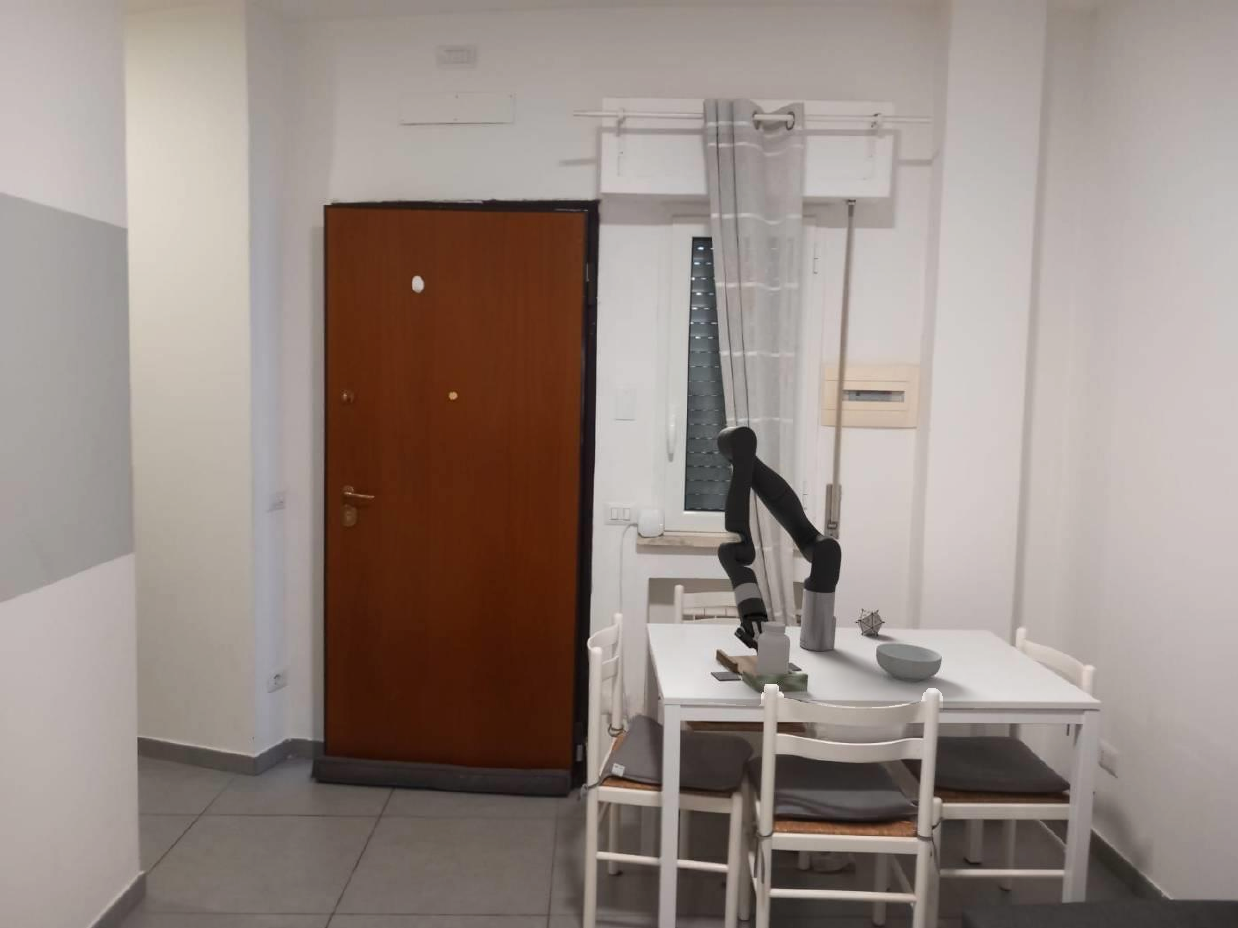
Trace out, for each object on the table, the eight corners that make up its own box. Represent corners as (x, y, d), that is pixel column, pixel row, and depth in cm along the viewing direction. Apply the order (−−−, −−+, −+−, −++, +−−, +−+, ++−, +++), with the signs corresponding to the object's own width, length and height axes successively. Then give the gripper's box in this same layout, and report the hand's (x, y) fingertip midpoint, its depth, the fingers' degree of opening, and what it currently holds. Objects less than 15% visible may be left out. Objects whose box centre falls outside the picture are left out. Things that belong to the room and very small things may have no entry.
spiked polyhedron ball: (871, 644, 280) (887, 619, 282) (876, 642, 272) (893, 616, 274) (846, 628, 282) (863, 603, 284) (851, 625, 274) (868, 599, 276)
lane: (781, 656, 248) (782, 642, 248) (829, 689, 221) (831, 674, 221) (694, 658, 241) (695, 644, 241) (733, 693, 214) (734, 677, 214)
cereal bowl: (933, 691, 224) (935, 664, 223) (867, 678, 232) (869, 652, 231) (944, 675, 239) (946, 649, 238) (882, 663, 247) (884, 638, 246)
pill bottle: (756, 675, 227) (759, 618, 226) (787, 678, 226) (791, 621, 225) (755, 684, 220) (759, 626, 219) (787, 688, 218) (792, 629, 217)
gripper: (731, 596, 233) (746, 654, 222) (777, 596, 237) (794, 654, 226) (722, 611, 239) (736, 669, 228) (767, 610, 242) (783, 667, 231)
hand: (765, 661), depth 227 cm, fingers closed
